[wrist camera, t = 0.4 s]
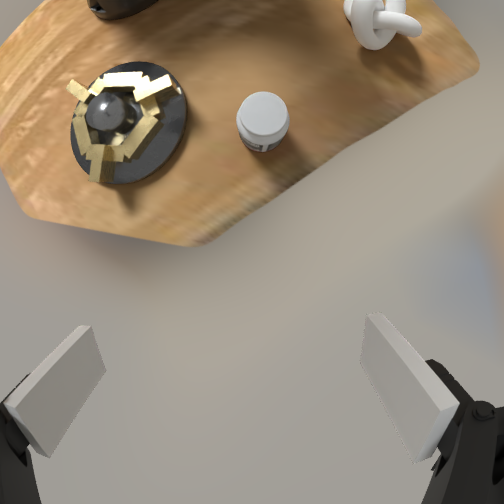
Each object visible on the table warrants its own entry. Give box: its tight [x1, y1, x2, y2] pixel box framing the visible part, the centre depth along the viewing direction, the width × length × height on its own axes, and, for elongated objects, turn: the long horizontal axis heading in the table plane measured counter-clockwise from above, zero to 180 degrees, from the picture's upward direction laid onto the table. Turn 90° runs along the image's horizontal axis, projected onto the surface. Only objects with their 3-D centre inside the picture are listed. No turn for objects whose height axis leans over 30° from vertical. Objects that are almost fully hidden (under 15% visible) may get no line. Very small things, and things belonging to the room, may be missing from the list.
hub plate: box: [71, 61, 187, 184], centre depth 33 cm, size 18×18×2 cm
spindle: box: [86, 92, 137, 135], centre depth 31 cm, size 5×5×8 cm
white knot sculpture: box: [343, 0, 422, 50], centre depth 26 cm, size 11×12×9 cm
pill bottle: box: [236, 92, 289, 152], centre depth 30 cm, size 6×6×10 cm
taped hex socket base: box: [66, 72, 180, 182], centre depth 31 cm, size 15×16×4 cm
